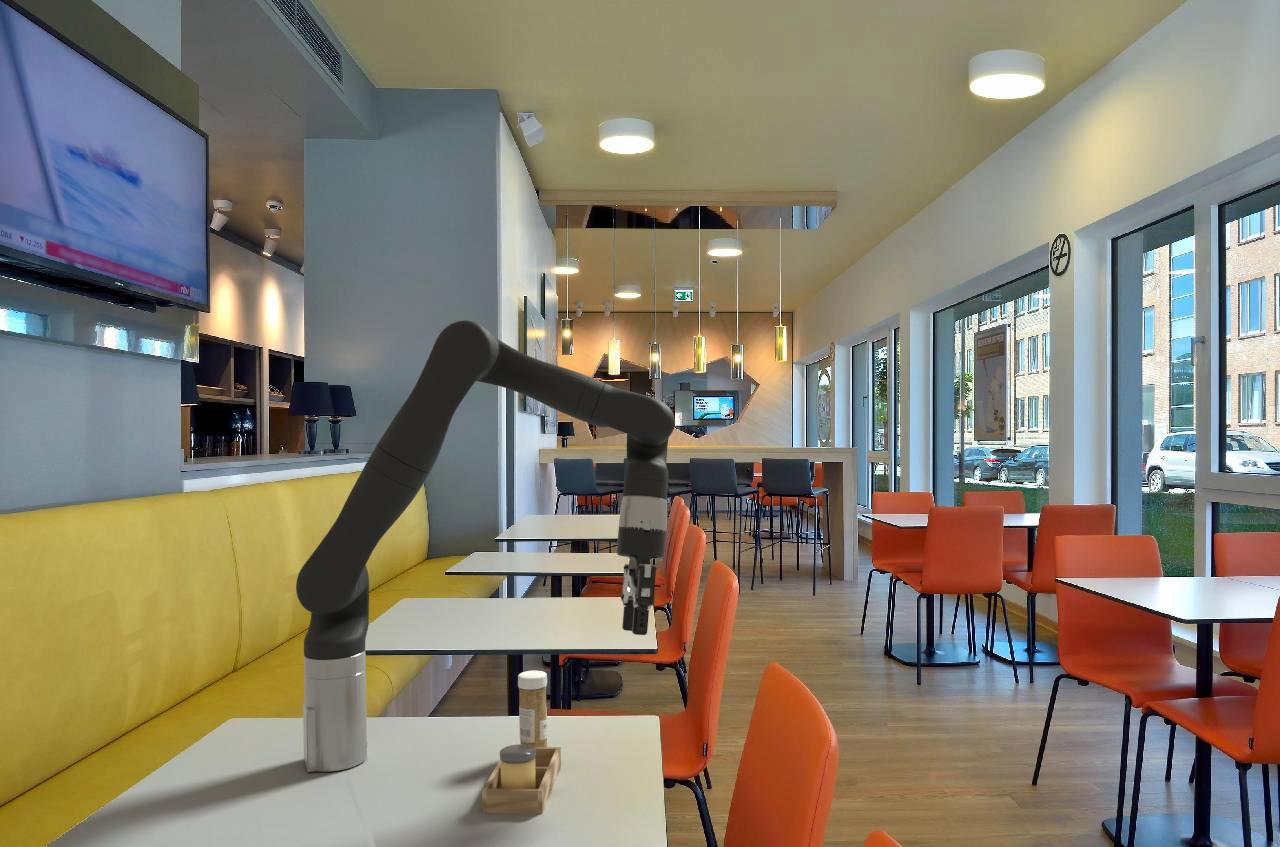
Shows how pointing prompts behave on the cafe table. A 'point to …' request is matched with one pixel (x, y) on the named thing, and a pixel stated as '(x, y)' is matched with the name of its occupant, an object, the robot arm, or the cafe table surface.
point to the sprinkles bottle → (533, 708)
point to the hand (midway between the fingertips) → (634, 632)
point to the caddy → (524, 798)
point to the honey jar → (518, 767)
